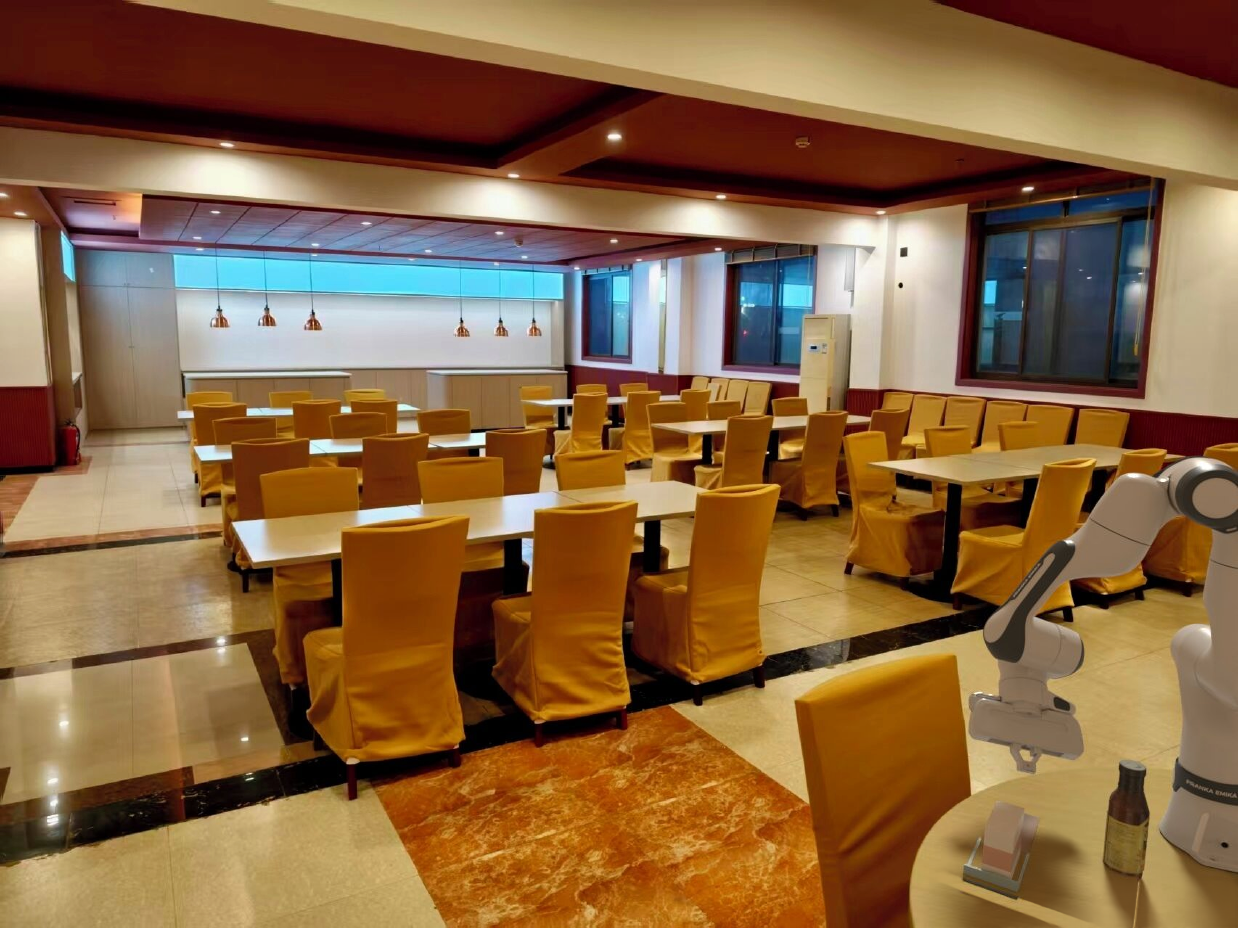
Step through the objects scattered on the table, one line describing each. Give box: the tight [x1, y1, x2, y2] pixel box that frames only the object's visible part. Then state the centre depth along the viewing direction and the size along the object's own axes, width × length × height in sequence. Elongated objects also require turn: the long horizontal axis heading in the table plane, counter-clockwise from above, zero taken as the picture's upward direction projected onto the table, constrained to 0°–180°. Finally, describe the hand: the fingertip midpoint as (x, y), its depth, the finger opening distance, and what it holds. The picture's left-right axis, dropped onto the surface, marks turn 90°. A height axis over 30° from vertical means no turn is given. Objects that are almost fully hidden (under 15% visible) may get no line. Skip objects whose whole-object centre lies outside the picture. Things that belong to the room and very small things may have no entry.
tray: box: [962, 837, 1031, 901], centre depth 147 cm, size 8×12×3 cm
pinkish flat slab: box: [1020, 812, 1041, 854], centre depth 158 cm, size 7×14×2 cm, turn 146°
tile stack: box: [980, 799, 1026, 880], centre depth 146 cm, size 4×10×10 cm, turn 146°
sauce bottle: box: [1102, 759, 1151, 882], centre depth 146 cm, size 7×6×20 cm
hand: (1026, 771), depth 159 cm, fingers closed
